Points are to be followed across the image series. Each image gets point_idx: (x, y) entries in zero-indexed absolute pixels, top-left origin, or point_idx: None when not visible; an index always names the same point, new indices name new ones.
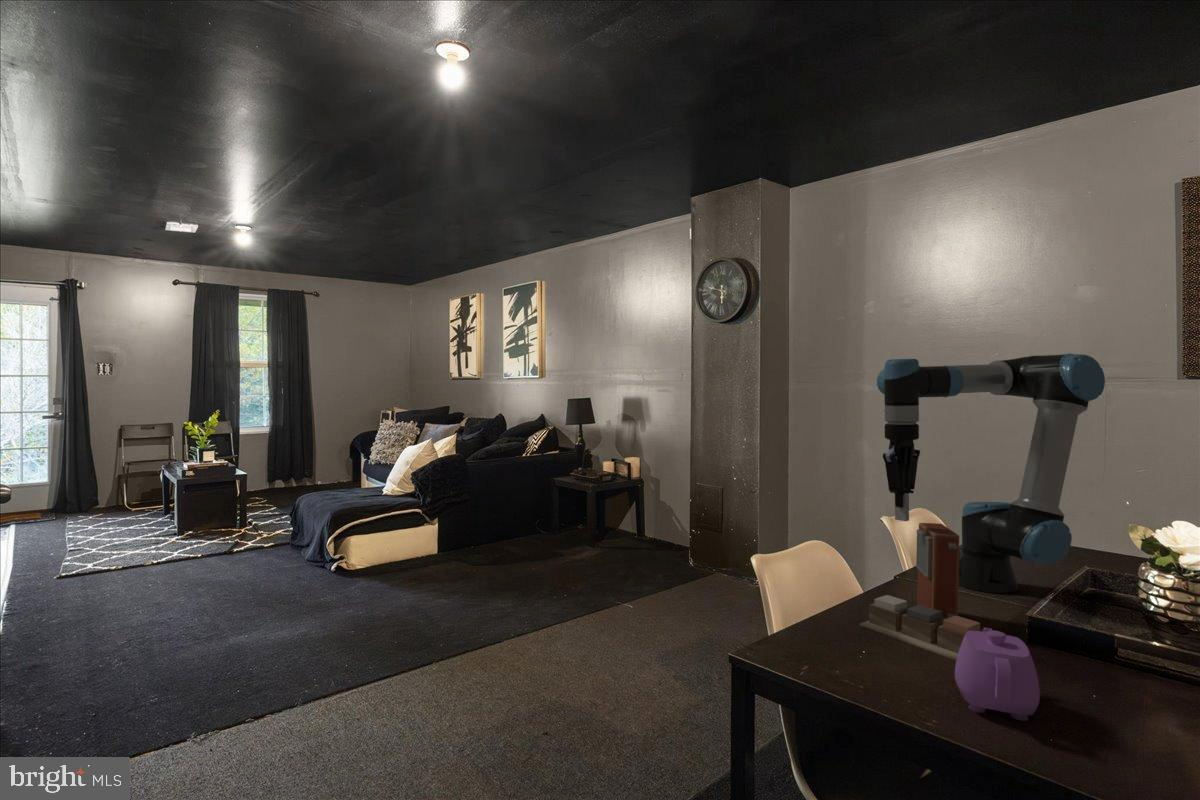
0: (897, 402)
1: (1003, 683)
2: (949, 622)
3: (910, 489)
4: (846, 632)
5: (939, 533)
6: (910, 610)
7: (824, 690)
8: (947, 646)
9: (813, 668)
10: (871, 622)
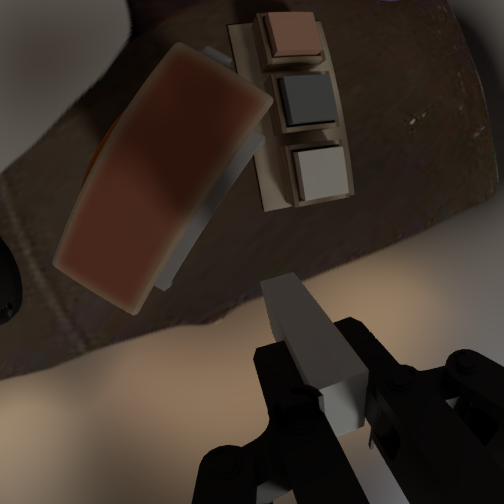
0: None
1: None
2: (320, 39)
3: (284, 435)
4: (388, 181)
5: (236, 98)
6: (336, 112)
7: (482, 93)
8: None
9: (472, 127)
10: None
